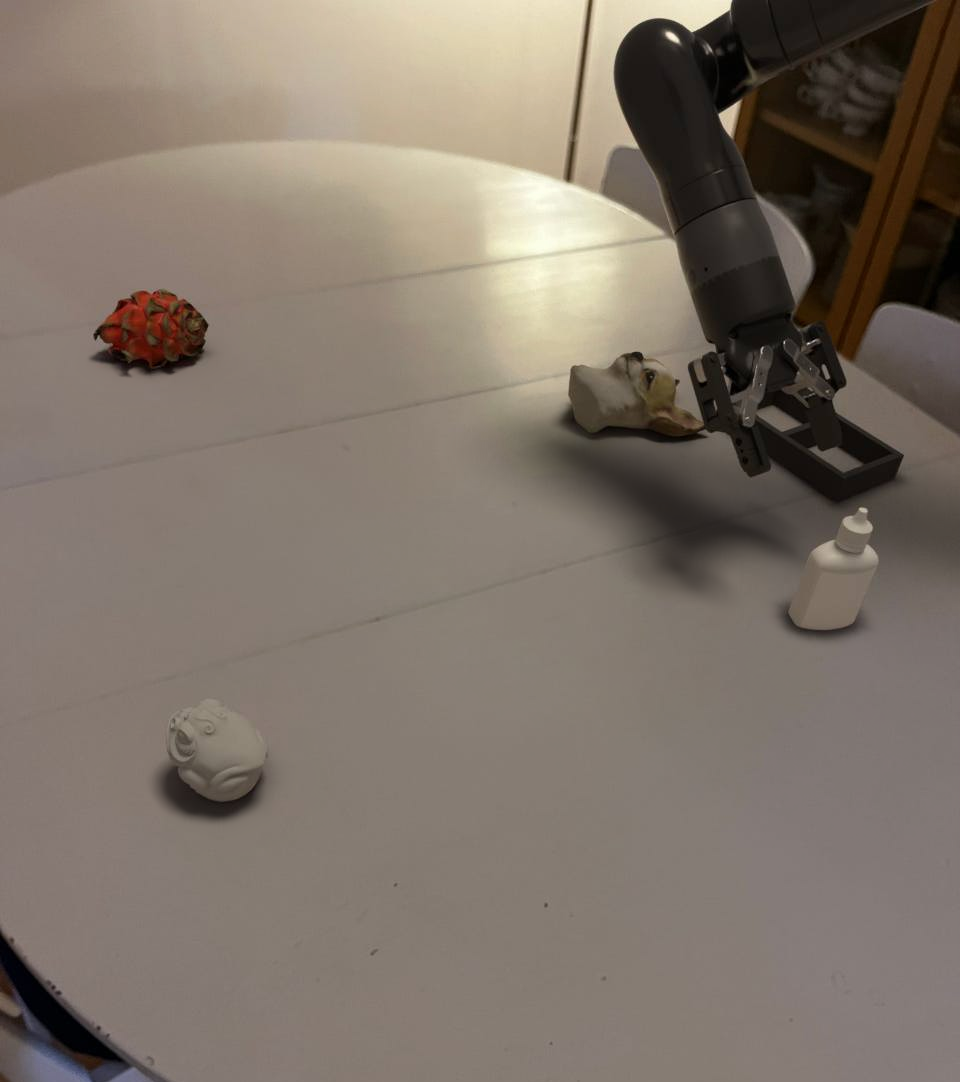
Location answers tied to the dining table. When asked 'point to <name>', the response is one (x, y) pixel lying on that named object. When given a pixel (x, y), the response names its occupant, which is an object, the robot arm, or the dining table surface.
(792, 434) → the dark grey divided tray
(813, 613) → the eye dropper bottle
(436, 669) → the dining table surface
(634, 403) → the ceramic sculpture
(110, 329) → the dragon fruit
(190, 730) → the frog figurine
